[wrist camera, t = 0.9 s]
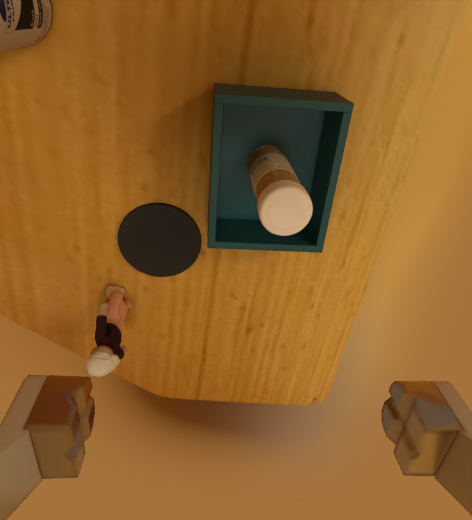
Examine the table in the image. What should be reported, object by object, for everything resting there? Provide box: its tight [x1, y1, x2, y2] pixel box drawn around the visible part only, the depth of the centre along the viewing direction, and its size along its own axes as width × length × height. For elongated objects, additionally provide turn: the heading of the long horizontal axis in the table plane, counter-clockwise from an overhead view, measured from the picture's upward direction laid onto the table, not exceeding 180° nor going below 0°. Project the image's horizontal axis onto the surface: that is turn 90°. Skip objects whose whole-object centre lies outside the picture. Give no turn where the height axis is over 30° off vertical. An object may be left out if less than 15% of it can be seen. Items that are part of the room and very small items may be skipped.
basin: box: [208, 83, 354, 252], centre depth 43 cm, size 16×13×6 cm
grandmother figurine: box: [87, 286, 132, 377], centre depth 49 cm, size 8×4×13 cm, turn 22°
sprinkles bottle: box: [247, 144, 313, 236], centre depth 39 cm, size 5×5×14 cm
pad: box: [118, 203, 201, 277], centre depth 49 cm, size 10×10×1 cm
